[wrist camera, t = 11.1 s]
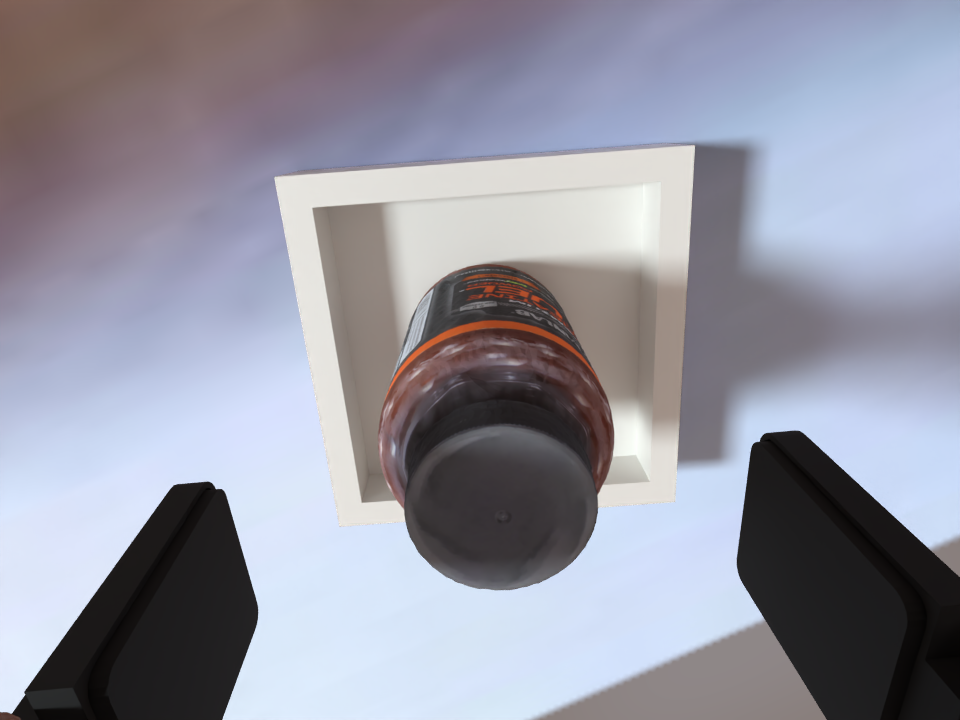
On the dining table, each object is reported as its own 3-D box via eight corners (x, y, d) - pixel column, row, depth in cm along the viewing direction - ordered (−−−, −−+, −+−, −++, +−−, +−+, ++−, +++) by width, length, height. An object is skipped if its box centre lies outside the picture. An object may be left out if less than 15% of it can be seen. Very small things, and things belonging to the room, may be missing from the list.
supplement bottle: (586, 280, 22) (700, 421, 11) (540, 422, 24) (599, 653, 13) (427, 240, 21) (389, 348, 11) (393, 389, 23) (333, 604, 13)
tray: (299, 170, 21) (274, 176, 18) (664, 143, 21) (695, 145, 18) (353, 483, 26) (339, 526, 23) (652, 461, 26) (674, 502, 23)
